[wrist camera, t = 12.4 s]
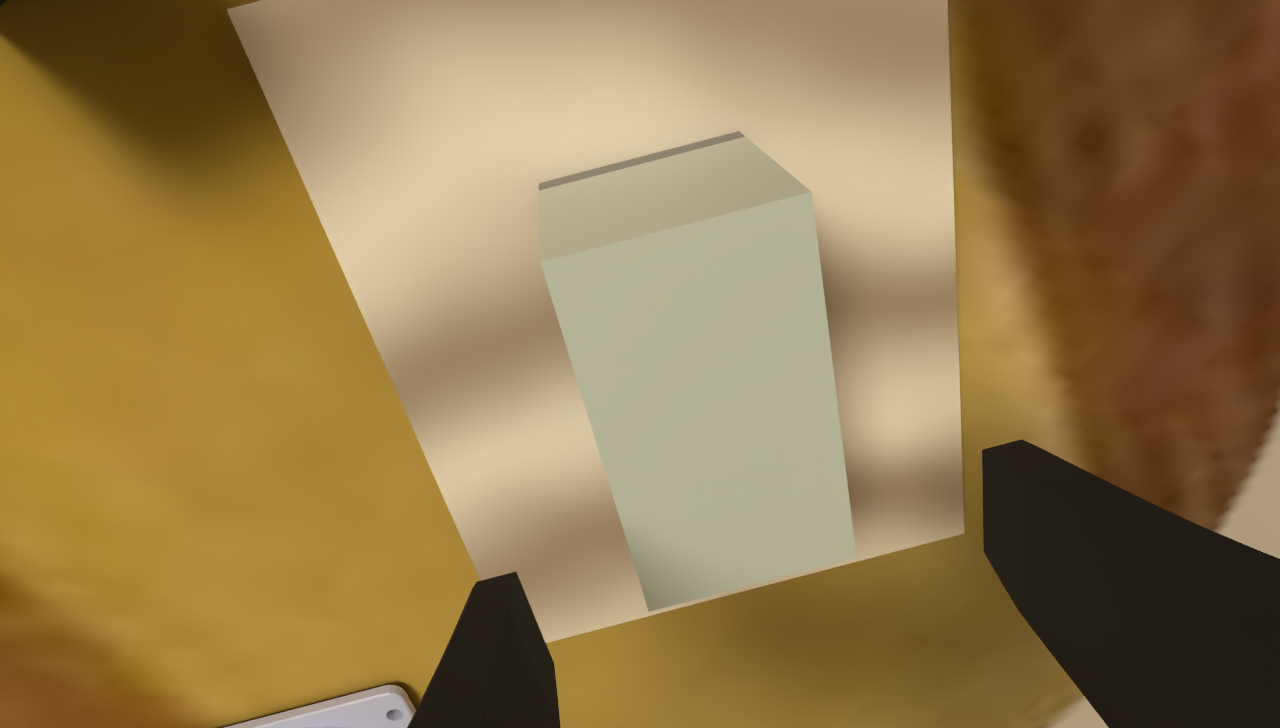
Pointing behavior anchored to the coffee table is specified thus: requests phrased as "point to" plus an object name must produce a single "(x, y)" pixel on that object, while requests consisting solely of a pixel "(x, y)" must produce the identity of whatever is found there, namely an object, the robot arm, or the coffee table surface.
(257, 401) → the coffee table surface
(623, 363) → the block
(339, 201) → the birch board
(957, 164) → the coffee table surface
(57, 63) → the coffee table surface
